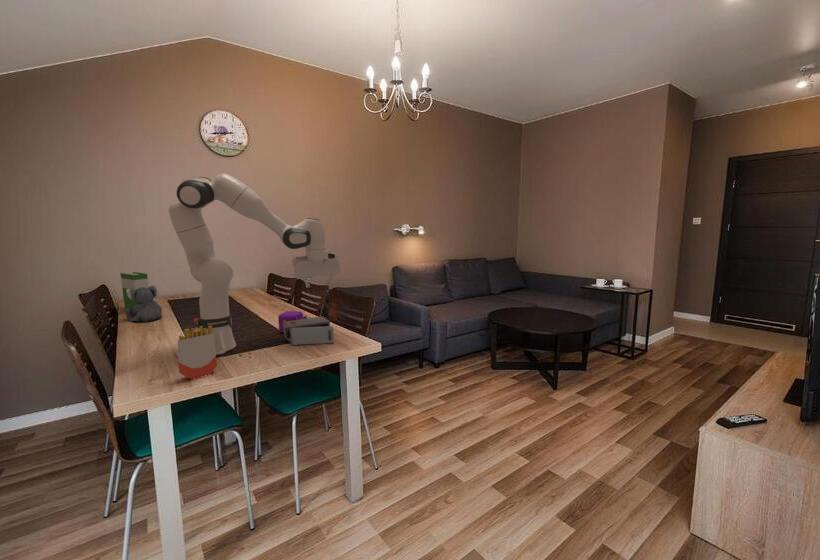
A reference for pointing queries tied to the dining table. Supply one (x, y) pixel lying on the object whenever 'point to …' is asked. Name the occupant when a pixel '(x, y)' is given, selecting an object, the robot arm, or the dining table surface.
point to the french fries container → (197, 353)
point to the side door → (312, 335)
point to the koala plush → (144, 304)
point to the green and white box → (132, 286)
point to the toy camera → (289, 318)
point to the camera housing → (304, 324)
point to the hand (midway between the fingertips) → (318, 286)
